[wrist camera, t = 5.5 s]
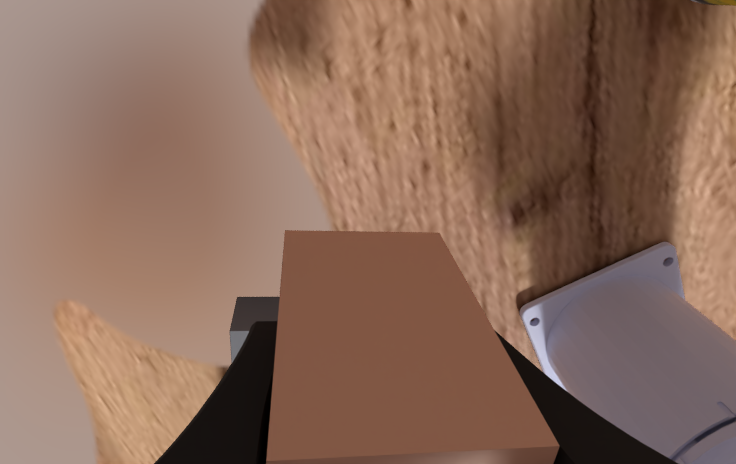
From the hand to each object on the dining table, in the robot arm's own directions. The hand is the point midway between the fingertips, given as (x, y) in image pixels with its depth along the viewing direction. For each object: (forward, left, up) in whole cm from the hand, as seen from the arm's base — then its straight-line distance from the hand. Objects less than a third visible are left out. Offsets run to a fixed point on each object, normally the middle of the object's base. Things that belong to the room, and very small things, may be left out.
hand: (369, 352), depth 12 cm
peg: (0, 0, -2) cm, 2 cm away
